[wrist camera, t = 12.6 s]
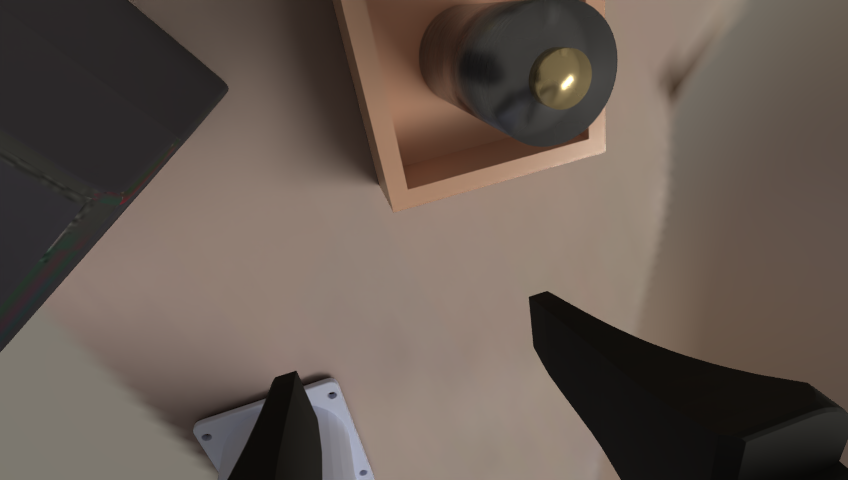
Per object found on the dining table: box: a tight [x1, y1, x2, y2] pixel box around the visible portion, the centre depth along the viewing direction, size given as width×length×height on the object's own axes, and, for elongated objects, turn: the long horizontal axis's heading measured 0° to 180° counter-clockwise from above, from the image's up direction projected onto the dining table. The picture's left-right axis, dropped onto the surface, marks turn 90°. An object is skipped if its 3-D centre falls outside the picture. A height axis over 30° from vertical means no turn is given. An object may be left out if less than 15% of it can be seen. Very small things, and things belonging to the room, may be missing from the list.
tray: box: [332, 0, 606, 213], centre depth 19 cm, size 10×10×4 cm
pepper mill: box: [419, 0, 617, 147], centre depth 16 cm, size 4×4×9 cm
